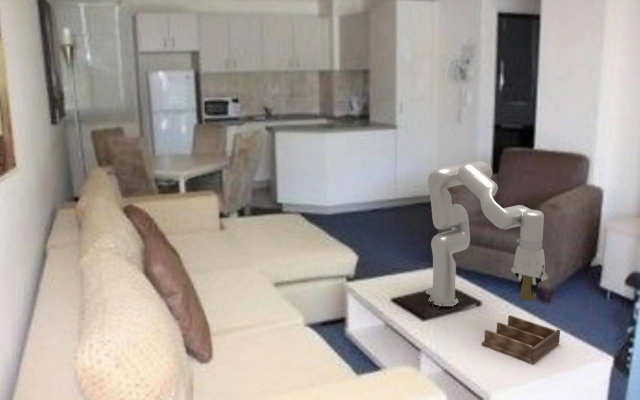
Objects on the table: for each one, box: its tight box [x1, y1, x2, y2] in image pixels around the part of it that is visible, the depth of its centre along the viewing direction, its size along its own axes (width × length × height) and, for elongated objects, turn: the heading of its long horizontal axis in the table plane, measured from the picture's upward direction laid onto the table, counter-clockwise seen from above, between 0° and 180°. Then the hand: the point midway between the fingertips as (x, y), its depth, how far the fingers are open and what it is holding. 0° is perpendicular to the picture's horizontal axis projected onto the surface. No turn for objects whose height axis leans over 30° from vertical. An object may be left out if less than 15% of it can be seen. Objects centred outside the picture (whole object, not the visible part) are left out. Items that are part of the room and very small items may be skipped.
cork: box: [518, 275, 538, 302], centre depth 208 cm, size 6×6×11 cm
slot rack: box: [481, 315, 561, 365], centre depth 210 cm, size 20×20×6 cm
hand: (527, 291), depth 209 cm, fingers closed on cork, 3 cm apart
